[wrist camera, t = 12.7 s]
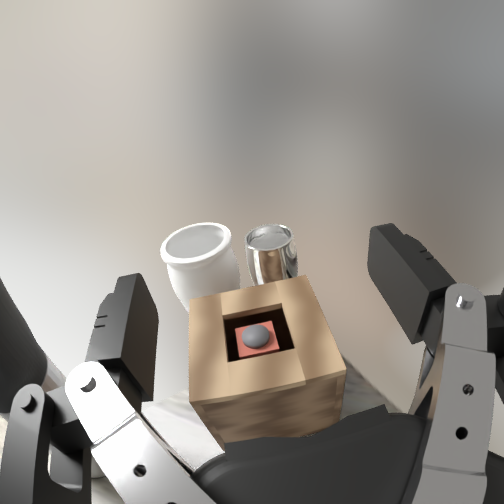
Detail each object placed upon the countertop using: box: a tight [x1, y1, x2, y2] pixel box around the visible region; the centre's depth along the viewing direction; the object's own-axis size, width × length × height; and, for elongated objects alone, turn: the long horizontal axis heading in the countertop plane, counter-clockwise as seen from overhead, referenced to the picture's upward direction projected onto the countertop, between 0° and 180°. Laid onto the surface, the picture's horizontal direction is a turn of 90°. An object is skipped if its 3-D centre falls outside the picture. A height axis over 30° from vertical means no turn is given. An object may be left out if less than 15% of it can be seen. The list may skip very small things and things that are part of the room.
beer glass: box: [244, 224, 298, 286], centre depth 46 cm, size 7×7×15 cm
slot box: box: [189, 275, 347, 451], centre depth 35 cm, size 14×14×13 cm
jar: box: [160, 223, 240, 313], centre depth 48 cm, size 11×10×15 cm
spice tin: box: [235, 321, 280, 360], centre depth 35 cm, size 4×4×12 cm
